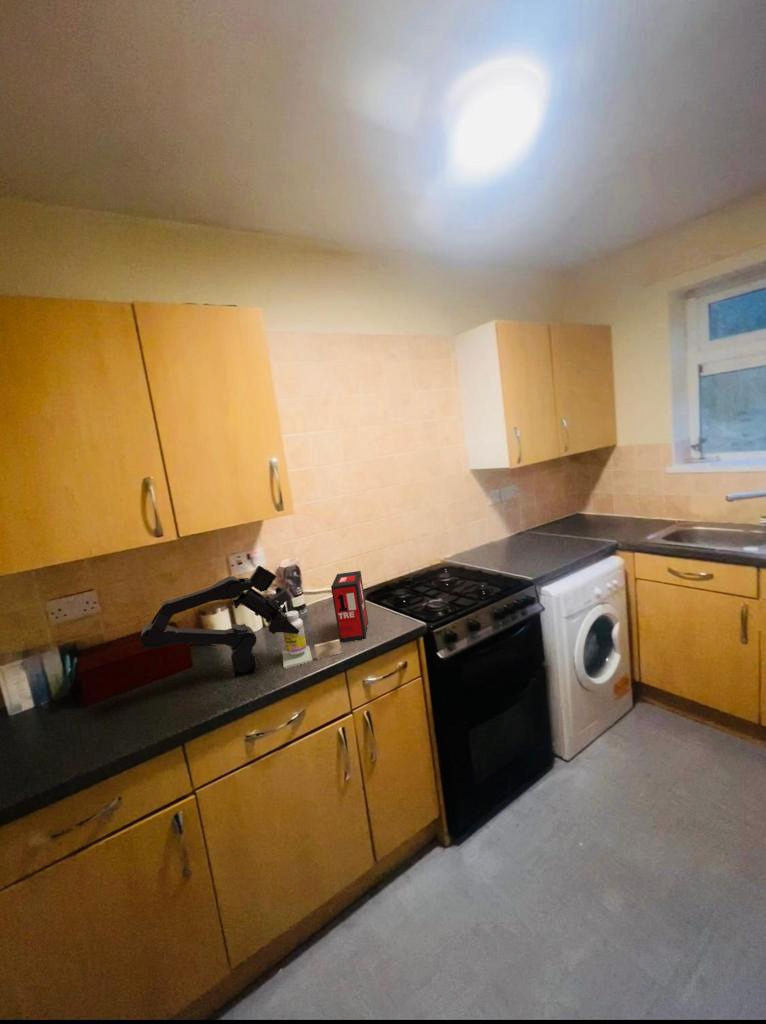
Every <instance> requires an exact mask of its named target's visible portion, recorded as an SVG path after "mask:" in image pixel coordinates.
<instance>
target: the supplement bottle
mask: <svg viewBox="0 0 766 1024" xmlns="http://www.w3.org/2000/svg"><path fill="white" fill-rule="evenodd" d="M286 614H287V618H288V621H289V622H290V623H291V624H293V625H294V626H295V627H296V628H297V629H298V630H299V633H298V634H293V633H283V637H284V644H285V651H287V653H288V654H299V653H302V652H303V651H305V650H306V648H307V646H308V645H307V641H306V634H305V626H304V621H303V619H301V618H299V617H300V616H299V615H300V614H299V612H298V611H297V610H290V611H287V613H285V615H286Z"/></svg>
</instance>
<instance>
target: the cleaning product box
mask: <svg viewBox="0 0 766 1024" xmlns="http://www.w3.org/2000/svg"><path fill="white" fill-rule="evenodd" d="M362 577H363V576H362V572H361V570H357V571H350V572H349V571H348V572H341V573H337V574H336V575H335V578H334V580H333V582H332V584H331V587H330V588H331V594H332V599H333V607H334V612H335V613H334V614H335V620H336V625H337V632H338V639H339V640H340V642H343V643H349V642H348V641H351V642H356V641H355V640H358V641H363V640H362V639H367V634H366V632H367V633H368V627H367V625H368V626H369V618H368V611H367V605H366V597H365V592H364V591H365V590H364V584H363V583H364V582H363V578H362Z"/></svg>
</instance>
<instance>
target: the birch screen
mask: <svg viewBox="0 0 766 1024" xmlns="http://www.w3.org/2000/svg"><path fill="white" fill-rule="evenodd" d="M314 649H315V650H314V651H315V655H316V659H318V660H321V659H320V658H322V659H326V658H330V657H329V656H331V657H334V656H333V655H335V656H337V655H336V654H339V655H341V654H340V653H342V647H341V643H340V639H339V638H337V639H333V640H330V641H325V642H322V643H318V644H314ZM325 657H326V658H325Z"/></svg>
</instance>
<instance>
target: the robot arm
mask: <svg viewBox="0 0 766 1024" xmlns="http://www.w3.org/2000/svg"><path fill="white" fill-rule="evenodd" d="M276 578H277V575H276V574H275V573H273V572H271V571H270V570H269V569H267V568H265V567H263V566H262V565H257V567H256V568H255V570H254V572H253V573H252V575H251V576H250V577H244V578H243V577H241V578H237V577H236V576H232V575H231V576H227V577H225V578H223V579H221V580H219V581H217V582H216V583H214V584H213V585H211V586H209V587H206V588H204V589H201V590H198V591H195V592H192V593H188V594H186V595H183V596H180V597H177V598H174V599H171V600H165V601H164V602H163V603H161V606H160V608H159V610H158V611H157V613H156V614H155V615H154V617H153V618H152V620H151V622H149V623H147V624H146V625H145V626H144V628H143V629H142V631H141V635H140V643H141V645H142V646H143V647H144V649H145V648H146V649H149V650H150V649H152V650H153V649H157V648H158V649H159V648H166V647H168V646H171V645H177V644H178V645H179V644H180V645H220V646H221V645H222V646H223V645H224V646H228V647H230V651H231V654H230V655H231V656H230V658H231V664H232V670H233V678H238V677H243V676H246V675H250V674H253V673H256V669H257V667H258V664H257V658H256V653H255V652H254V651H253V648H254V647H255V645H256V643H257V636H256V634H255V632H254V630H253V629H252V628H251V626H248V625H246V623H243V624H242V623H241V624H238V623H237V624H236V623H232V624H231V628H227V629H210V628H209V629H207V628H205V629H204V628H182V627H181V628H180V627H179V628H178V627H174V626H171V625H169V622H170V621H171V619H172V618H173V616H174V615H176V614H178V613H181V612H185V611H187V610H190V609H193V608H196V607H199V606H202V605H206V604H207V603H211V602H215V601H225V600H231V599H232V602H233V604H234V609H238V607H239V606H240V604H241V605H242V606H244V607H245V608H247V609H249V610H250V611H252V612H253V613H254V615H255V616H257V617H258V616H260V617H261V618H263V619H264V620H265V622H266V623H267V627H268V632H270V633H271V634H273V635H275V634H277V633H283V634H284V633H293V634H298V633H299V630H298V629H297V628H296V627H295V626H294V625H293V624H291V623H290V622H289V621H288V618H287V614H286V615H285V613H287V612H288V611H287V605H286V604H285V603H286V602H288V601H290V600H291V599H292V596H291V594H290V591H288V589H287V588H286V587H281V586H277V587H276V588H275V590H274V591H275V593H274V594H273V595H272V596H269V595H265V596H264V595H263V594H261V593H262V592H267V591H268V590H269V589H270V586H271V585H272V584H273V582H274V581H275V580H276ZM260 592H261V593H260Z"/></svg>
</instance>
